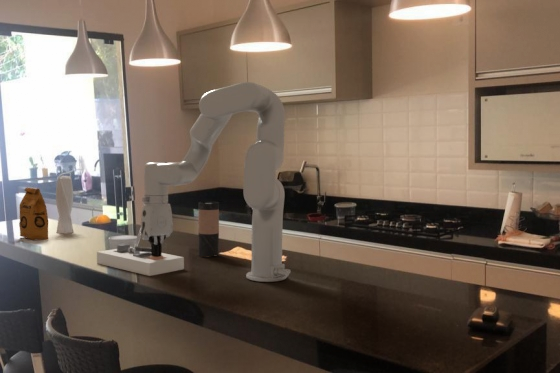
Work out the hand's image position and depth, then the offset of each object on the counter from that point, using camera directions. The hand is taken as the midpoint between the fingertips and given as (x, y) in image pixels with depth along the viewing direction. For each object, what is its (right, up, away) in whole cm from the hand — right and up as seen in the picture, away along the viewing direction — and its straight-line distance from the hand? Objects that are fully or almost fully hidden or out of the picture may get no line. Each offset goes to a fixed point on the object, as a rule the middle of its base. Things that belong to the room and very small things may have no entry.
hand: (156, 255), depth 188 cm
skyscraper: (-59, +1, +79) cm, 99 cm away
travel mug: (+14, -3, +26) cm, 30 cm away
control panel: (-7, -4, +6) cm, 10 cm away
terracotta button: (0, -3, 0) cm, 3 cm away
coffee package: (-66, 0, +61) cm, 90 cm away
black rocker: (-5, +2, +4) cm, 6 cm away
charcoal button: (-14, -1, +12) cm, 18 cm away
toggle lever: (-9, +1, +8) cm, 12 cm away
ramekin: (-20, -2, +35) cm, 41 cm away
